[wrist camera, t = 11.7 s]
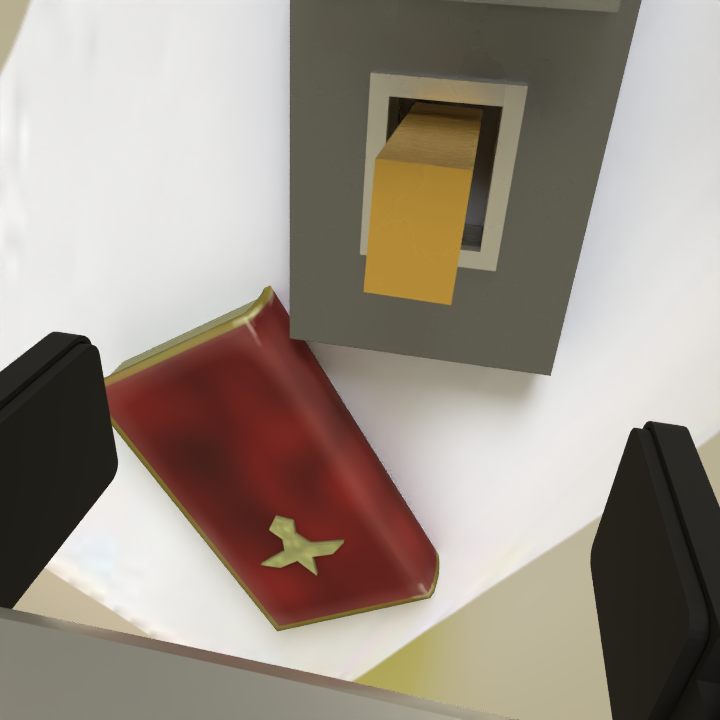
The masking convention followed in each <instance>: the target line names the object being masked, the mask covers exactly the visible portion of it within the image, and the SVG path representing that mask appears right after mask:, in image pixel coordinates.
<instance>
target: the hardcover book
mask: <svg viewBox="0 0 720 720" xmlns="http://www.w3.org/2000/svg"><path fill="white" fill-rule="evenodd" d="M104 383H105V388H106V394H107V400H108V406H109V411H110V417H111V423H112V426H113V427H114V428H115V430H116V431H117V432H118V433H119V435H120V436H121V437H122V438H123V440H124V441H125V442H126V443H127V445H128V446H129V447H130V448H131V450H132V451H133V452H134V453H135V455H136V456H137V457H138V458H139V460H140V461H141V462H142V463H143V465H144V466H145V467H146V468H147V469H148V471H149V472H150V473H151V474H152V476H153V477H154V478H155V479H156V481H157V482H158V483H159V484H160V486H161V487H162V488H163V489H164V491H165V492H166V493H167V494H168V496H169V497H170V498H171V499H172V501H173V502H174V503H175V504H176V506H177V507H178V508H179V509H180V511H181V512H182V513H183V514H184V516H185V517H186V518H187V519H188V521H189V522H190V523H191V524H192V526H193V527H194V528H195V529H196V531H197V532H198V533H199V534H200V536H201V537H202V538H203V539H204V540H205V542H206V543H207V544H208V545H209V547H210V548H211V549H212V550H213V552H214V553H215V554H216V555H217V557H218V558H219V559H220V560H221V562H222V563H223V564H224V565H225V567H226V568H227V569H228V570H229V572H230V573H231V574H232V575H233V577H234V578H235V579H236V580H237V582H238V583H239V584H240V585H241V587H242V588H243V589H244V590H245V592H246V593H247V594H248V595H249V597H250V598H251V599H252V600H253V602H254V603H255V604H256V605H257V607H258V608H259V609H260V610H261V612H262V613H263V614H264V615H265V616H266V618H267V619H268V620H269V621H270V623H271V624H272V625H273V626H274V628H275V629H276V630H277V631H281V630H285V629H290V628H295V627H299V626H304V625H308V624H313V623H318V622H322V621H327V620H331V619H336V618H341V617H345V616H350V615H354V614H359V613H364V612H368V611H373V610H377V609H382V608H387V607H391V606H396V605H400V604H405V603H410V602H414V601H419V600H424V599H428V598H430V597H431V596H432V594H433V593H434V591H435V587H436V584H437V580H438V575H439V555H438V553H437V551H436V550H435V548H434V547H433V545H432V543H431V542H430V540H429V539H428V537H427V536H426V534H425V532H424V531H423V529H422V528H421V526H420V524H419V523H418V521H417V520H416V518H415V516H414V515H413V513H412V512H411V510H410V508H409V507H408V505H407V504H406V502H405V500H404V499H403V497H402V496H401V494H400V492H399V491H398V489H397V488H396V486H395V484H394V483H393V481H392V480H391V478H390V476H389V475H388V473H387V472H386V470H385V468H384V467H383V465H382V464H381V462H380V460H379V459H378V457H377V456H376V454H375V452H374V451H373V449H372V448H371V446H370V444H369V443H368V441H367V440H366V438H365V436H364V435H363V433H362V432H361V430H360V428H359V427H358V425H357V424H356V422H355V420H354V419H353V417H352V416H351V414H350V412H349V411H348V409H347V408H346V406H345V404H344V403H343V401H342V400H341V398H340V396H339V395H338V393H337V392H336V390H335V388H334V387H333V385H332V384H331V382H330V380H329V379H328V377H327V376H326V374H325V372H324V371H323V369H322V368H321V366H320V364H319V363H318V361H317V360H316V358H315V356H314V355H313V353H312V352H311V350H310V348H309V347H308V345H307V344H306V342H305V340H298V339H292V338H290V316H289V315H288V313H287V312H286V310H285V308H284V307H283V305H282V304H281V302H280V300H279V299H278V297H277V296H276V294H275V292H274V291H273V289H272V288H271V286H268V287H266V288H264V290H263V292H262V294H261V295H260V297H259V298H258V299H257V300H255V301H253V302H251V303H249V304H246V305H244V306H242V307H240V308H238V309H236V310H234V311H231V312H229V313H227V314H225V315H223V316H221V317H219V318H216V319H214V320H212V321H210V322H208V323H206V324H204V325H202V326H199V327H197V328H195V329H193V330H191V331H189V332H187V333H184V334H182V335H180V336H178V337H176V338H174V339H172V340H169V341H167V342H165V343H163V344H161V345H159V346H157V347H154V348H152V349H150V350H148V351H146V352H144V353H142V354H140V355H137V356H135V357H133V358H131V359H129V360H127V361H125V362H123V363H122V364H121V365H120V366H119V367H118V368H117V369H116V370H115V371H114V372H113V373H112V374H111V375H110V376H108V377H105V378H104Z"/></svg>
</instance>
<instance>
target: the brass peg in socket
mask: <svg viewBox="0 0 720 720" xmlns="http://www.w3.org/2000/svg"><path fill="white" fill-rule="evenodd" d="M482 114H483V109H476V108H467V107H458V106H449V105H440V104H432V103H423V102H416V103H415V104H414V106H413V107H412V108H411V110H410V111H409V112H408V114H407V115H406V117H405V118H404V119H403V121H402V122H401V123H400V125H399V126H398V128H397V129H396V130H395V132H394V133H393V134H392V136H391V137H390V139H389V140H388V141H387V143H386V144H385V146H384V147H383V148H382V150H381V151H380V152H379V154H378V155H377V157H376V158H375V166H374V178H373V189H372V201H371V212H370V224H369V235H368V246H367V258H366V269H365V281H364V292H367V293H374V294H381V295H387V296H394V297H400V298H407V299H414V300H420V301H427V302H433V303H440V304H447V305H451V303H452V297H453V291H454V285H455V278H456V272H457V266H458V260H459V254H460V248H461V242H462V236H463V230H464V224H465V218H466V212H467V206H468V200H469V194H470V188H471V181H472V175H473V169H474V163H475V157H476V151H477V145H478V139H479V132H480V126H481V120H482Z"/></svg>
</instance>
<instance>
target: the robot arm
mask: <svg viewBox="0 0 720 720" xmlns="http://www.w3.org/2000/svg"><path fill="white" fill-rule="evenodd" d="M117 468H118V458H117V452H116V446H115V440H114V435H113V429H112V423H111V417H110V411H109V406H108V400H107V394H106V388H105V383H104V377H103V371H102V365H101V359H100V354H99V350H98V349H97V347H96V346H94V345H92V344H91V342H90V340H89V339H88V338H87V337H86V336H82V335H76V334H69V333H62V332H52V333H50V334H48V335H47V336H46V337H44V338H43V339H42V340H41V341H39V342H38V343H37V344H35V345H34V346H33V347H32V348H30V349H29V350H28V351H26V352H25V353H24V354H23V355H21V356H20V357H19V358H18V359H16V360H15V361H14V362H12V363H11V364H10V365H9V366H7V367H6V368H5V369H3V370H2V371H1V372H0V720H518V719H514V718H510V717H505V716H501V715H497V714H493V713H489V712H484V711H480V710H476V709H471V708H467V707H462V706H458V705H453V704H449V703H444V702H440V701H435V700H431V699H426V698H422V697H417V696H413V695H408V694H404V693H399V692H395V691H390V690H385V689H381V688H376V687H372V686H367V685H362V684H358V683H354V682H349V681H345V680H340V679H336V678H331V677H327V676H322V675H318V674H313V673H309V672H304V671H299V670H295V669H290V668H285V667H281V666H276V665H272V664H267V663H262V662H258V661H253V660H248V659H244V658H239V657H234V656H230V655H225V654H221V653H216V652H211V651H207V650H202V649H197V648H193V647H188V646H183V645H179V644H174V643H169V642H165V641H160V640H155V639H151V638H146V637H141V636H136V635H132V634H127V633H123V632H118V631H113V630H108V629H103V628H99V627H94V626H89V625H84V624H80V623H75V622H70V621H65V620H61V619H56V618H51V617H46V616H41V615H36V614H32V613H27V612H22V611H17V610H13V609H12V608H13V607H14V606H15V604H16V603H17V602H18V601H19V599H20V598H21V597H22V595H23V594H24V593H25V591H26V590H27V589H28V588H29V586H30V585H31V584H32V583H33V581H34V580H35V579H36V578H37V576H38V575H39V574H40V572H41V571H42V570H43V569H44V567H45V566H46V565H47V563H48V562H49V561H50V560H51V558H52V557H53V556H54V555H55V553H56V552H57V551H58V549H59V548H60V547H61V546H62V544H63V543H64V542H65V540H66V539H67V538H68V537H69V535H70V534H71V533H72V532H73V530H74V529H75V528H76V526H77V525H78V524H79V523H80V521H81V520H82V519H83V518H84V516H85V515H86V514H87V512H88V511H89V510H90V509H91V507H92V506H93V505H94V503H95V502H96V501H97V500H98V498H99V497H100V496H101V495H102V493H103V492H104V491H105V489H106V488H107V487H108V486H109V484H110V483H111V482H112V480H113V479H114V477H115V475H116V472H117ZM590 563H591V572H592V580H593V587H594V593H595V601H596V608H597V614H598V621H599V628H600V635H601V642H602V649H603V656H604V663H605V670H606V677H607V684H608V691H609V697H610V705H611V712H612V719H613V720H720V507H719V504H718V502H717V499H716V497H715V495H714V492H713V490H712V487H711V485H710V482H709V480H708V477H707V475H706V472H705V470H704V467H703V465H702V462H701V460H700V457H699V455H698V453H697V450H696V447H695V445H694V442H693V440H692V437H691V435H690V433H689V430H688V429H687V427H684V426H679V425H673V424H666V423H659V422H653V421H648V422H646V424H645V425H644V427H643V429H640V428H633V429H632V430H631V432H630V435H629V437H628V440H627V443H626V446H625V449H624V452H623V455H622V458H621V461H620V464H619V467H618V470H617V473H616V476H615V479H614V482H613V485H612V488H611V491H610V494H609V497H608V500H607V503H606V506H605V509H604V512H603V515H602V518H601V521H600V524H599V527H598V530H597V534H596V536H595V539H594V542H593V545H592V550H591V562H590Z"/></svg>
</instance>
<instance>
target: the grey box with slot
mask: <svg viewBox="0 0 720 720" xmlns="http://www.w3.org/2000/svg"><path fill="white" fill-rule="evenodd" d="M640 4H641V0H290V338H292V339H298V340H305V341H312V342H319V343H326V344H333V345H340V346H347V347H354V348H361V349H368V350H375V351H382V352H389V353H396V354H403V355H410V356H417V357H424V358H431V359H438V360H445V361H452V362H459V363H466V364H473V365H480V366H487V367H494V368H501V369H508V370H515V371H522V372H528V373H535V374H542V375H549V376H551V372H552V368H553V363H554V359H555V355H556V351H557V347H558V343H559V339H560V335H561V330H562V326H563V322H564V318H565V314H566V310H567V306H568V301H569V297H570V293H571V289H572V285H573V281H574V277H575V273H576V268H577V264H578V260H579V256H580V252H581V248H582V244H583V240H584V235H585V231H586V227H587V223H588V219H589V215H590V211H591V207H592V202H593V198H594V194H595V190H596V186H597V182H598V178H599V173H600V169H601V165H602V161H603V157H604V153H605V149H606V145H607V140H608V136H609V132H610V128H611V124H612V120H613V116H614V112H615V107H616V103H617V99H618V95H619V91H620V87H621V83H622V79H623V74H624V70H625V66H626V62H627V58H628V54H629V50H630V45H631V41H632V37H633V33H634V29H635V25H636V21H637V17H638V12H639V8H640ZM400 97H403V98H414V99H425V100H436V101H447V102H458V103H469V104H480V105H491V106H501V111H500V117H499V124H498V130H497V136H496V143H495V149H494V156H493V162H492V168H491V175H490V181H489V187H488V194H487V200H486V206H485V213H484V219H483V225H482V226H481V225H472V224H464V230H463V236H462V242H461V248H460V254H459V260H458V266H457V272H456V278H455V285H454V291H453V297H452V303H451V305H447V304H440V303H433V302H427V301H420V300H414V299H407V298H400V297H394V296H387V295H381V294H374V293H367V292H364V281H365V269H366V258H367V246H368V235H369V224H370V212H371V201H372V189H373V178H374V166H375V158H376V157H377V155H378V154H379V152H380V151H381V150H382V148H383V147H384V146H385V144H386V143H387V141H388V140H389V139H390V137H391V136H392V134H393V133H394V132H395V130H396V129H397V128H398V117H399V104H400Z"/></svg>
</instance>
